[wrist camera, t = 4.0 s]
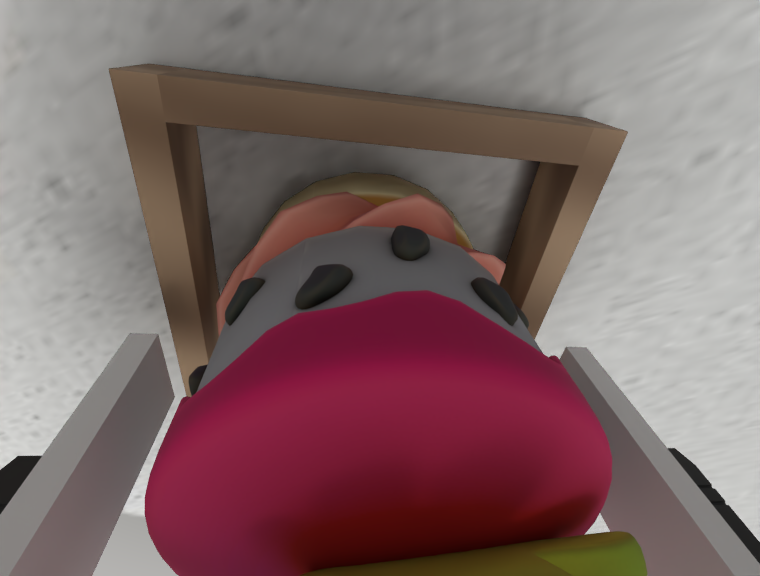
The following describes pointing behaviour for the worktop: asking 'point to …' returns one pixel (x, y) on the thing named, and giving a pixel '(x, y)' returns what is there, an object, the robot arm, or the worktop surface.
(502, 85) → the worktop surface
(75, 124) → the worktop surface
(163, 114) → the frame
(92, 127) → the worktop surface
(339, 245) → the cake
